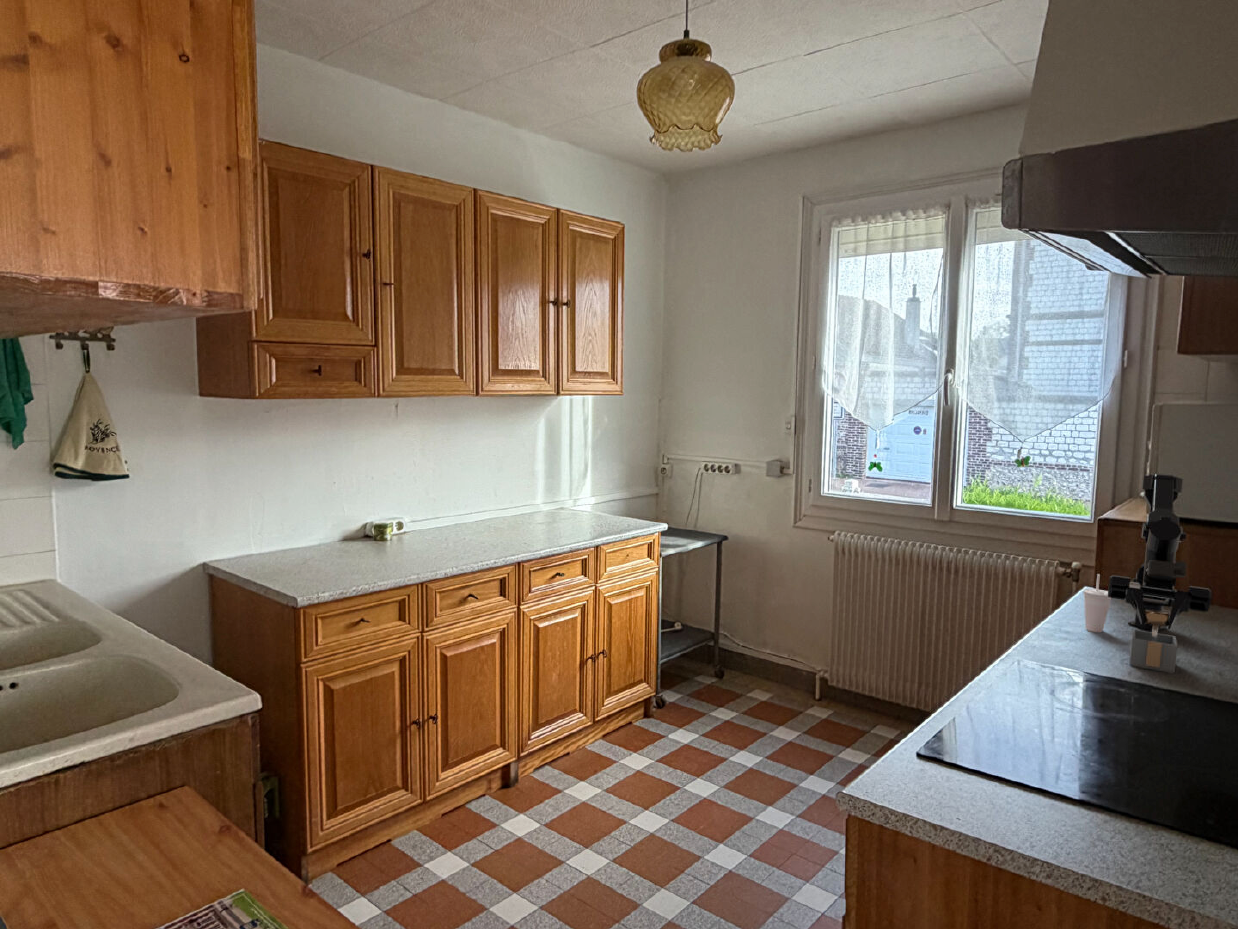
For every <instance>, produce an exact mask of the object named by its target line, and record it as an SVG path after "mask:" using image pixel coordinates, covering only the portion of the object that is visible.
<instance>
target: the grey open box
mask: <svg viewBox="0 0 1238 929" xmlns="http://www.w3.org/2000/svg"><path fill="white" fill-rule="evenodd" d="M1151 637H1152V631H1144V630H1139V629H1131V638H1130V646H1129V656H1130V657H1129V656H1128V657H1129V666H1132V665H1133V667H1139V668H1144V669H1148V670H1153V671H1160V672H1164V673H1169V674H1175V670H1176V662H1177V655H1178V654H1177V653H1178V641H1177V637H1176V635H1175V636H1174V635H1170V634H1164V633H1163V634H1162V633H1157V642H1154V641H1151Z"/></svg>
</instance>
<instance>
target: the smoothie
mask: <svg viewBox="0 0 1238 929" xmlns="http://www.w3.org/2000/svg"><path fill="white" fill-rule="evenodd" d="M1096 576H1097V577H1096V584H1095V585H1096V586H1095V588H1083V589H1082V590H1083V592H1082V594H1083V596H1084V597H1083V598H1084V599H1083V600H1084V620H1085V621H1084V622H1085V624H1084V625H1085V630H1086V631H1088V632H1092V633H1103V632H1104V627H1105V624H1106V621H1107V617H1108V612H1109V608H1110V605H1111V601H1112V599H1113V598H1110V597H1108V590H1103V589H1100V581H1101V580H1100V579H1101V578H1100V577H1101V574H1099V573H1097V574H1096Z"/></svg>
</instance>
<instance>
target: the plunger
mask: <svg viewBox="0 0 1238 929" xmlns="http://www.w3.org/2000/svg"><path fill="white" fill-rule="evenodd" d="M1169 618H1170V613H1168V612H1165V611H1159V610H1145V618H1144V622H1145V623H1147V624H1150V625H1153V628H1152V630H1151V632H1152V637H1151V641H1154V642H1157V633H1158V632H1159V630H1158V626H1167V627H1168V622H1169ZM1158 634H1159V633H1158Z"/></svg>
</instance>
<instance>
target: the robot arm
mask: <svg viewBox="0 0 1238 929" xmlns="http://www.w3.org/2000/svg"><path fill="white" fill-rule="evenodd" d="M1183 483H1184V478H1180V477H1178V476H1177V475H1173V474H1166V473H1165V474H1164V473H1148V475H1143V476H1142V482H1141V491H1142V492H1144V494H1143V499H1144V502H1145V504H1146V505H1147V507H1148V508H1149V513H1148V514H1147V516H1146V522H1143V523H1142V527H1141V528H1142V530H1141V538H1143V539H1144V543H1145V546H1146V547H1145V555H1144V556H1145V557H1144V563H1143V564H1142V565H1141V567H1139V569H1138V570H1137V571H1136V574H1135V577H1133V578H1132V581H1131V577H1130V576H1129V577H1128V576H1121V575H1114V574H1113V575H1111V576H1109V580H1108V590H1107V591H1108V597H1110V598H1112V599H1116V600H1117V599H1118V600H1125V603H1126V604H1130V605H1131V607H1132V609H1134V620H1131V621H1128V622H1127V625H1131V626H1133V627H1137V626H1138V627H1137V628H1141V629H1145V630H1149V631H1152V628H1153V625H1150V624H1147V623H1145V622H1144V618H1145V610H1159V611H1163V610H1164V607H1167V608H1171V609H1170V613H1169V621H1168V626H1158V631H1161V630H1164V629H1168V630H1171V629H1172V627H1173V625H1174V623H1175V621H1176V620H1177V618H1179V616H1180V615H1181V614H1182V613H1188V612H1189V611H1197V612H1203V613H1207V612H1209V609H1210V606H1211V603H1212V598H1213V596H1212V595H1213V594H1212V591H1211V590H1210V588H1207V587H1200V586H1193V585H1189V587H1188V590H1187V591H1183V590H1177V589H1175V587H1176V583H1177V577H1178V578H1183V579H1184V578H1185V577H1186V575H1187V574H1186V573H1187V561H1183V560H1180V561H1179V560H1176V556H1177V555H1176V554H1177V553H1176V552H1177V551H1178V548H1179V544H1180V543H1182V542H1183V540H1186V539H1187V533H1186V532H1185V530H1184V528H1183V526H1180V517H1179V516H1178V515H1176V514H1175V513H1174V505H1175V504H1176V502H1177V500H1178V496H1179V495H1181V494H1182V491H1183ZM1163 612H1164V611H1163Z"/></svg>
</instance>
